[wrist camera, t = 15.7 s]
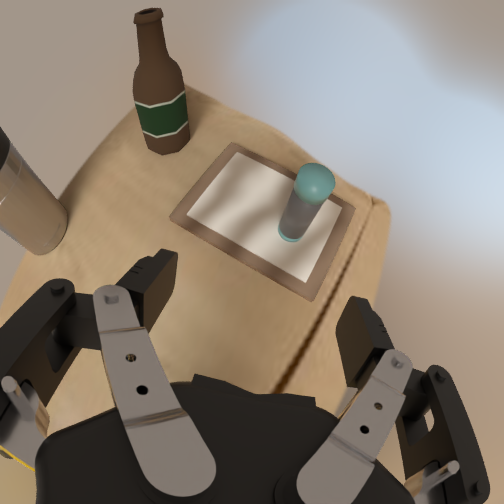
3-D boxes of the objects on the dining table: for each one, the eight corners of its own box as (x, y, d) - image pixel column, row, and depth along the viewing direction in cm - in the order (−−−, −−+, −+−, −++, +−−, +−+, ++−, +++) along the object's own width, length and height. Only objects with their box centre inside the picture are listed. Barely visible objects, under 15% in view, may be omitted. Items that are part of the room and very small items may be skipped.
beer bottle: (140, 155, 41) (102, 27, 19) (154, 123, 44) (132, 5, 22) (184, 158, 42) (167, 19, 19) (196, 125, 44) (189, -1, 22)
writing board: (170, 220, 38) (168, 215, 36) (231, 146, 43) (231, 141, 42) (311, 302, 35) (314, 300, 34) (353, 211, 41) (356, 207, 40)
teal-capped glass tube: (272, 234, 37) (291, 181, 26) (284, 212, 38) (307, 157, 27) (297, 248, 36) (327, 201, 25) (309, 226, 38) (340, 175, 26)
